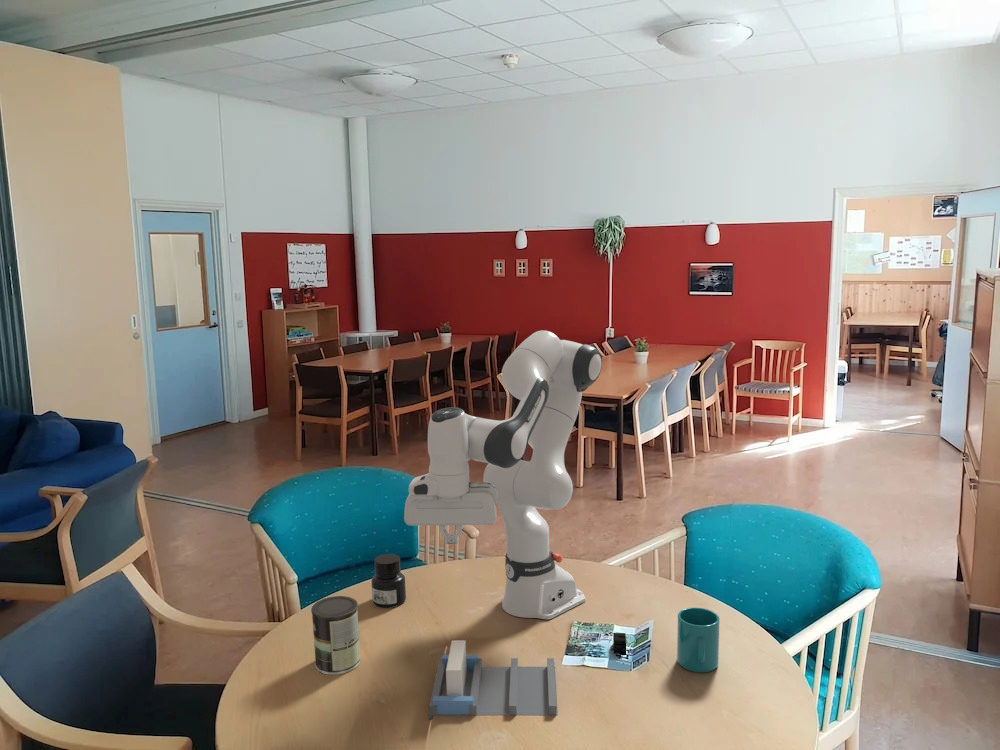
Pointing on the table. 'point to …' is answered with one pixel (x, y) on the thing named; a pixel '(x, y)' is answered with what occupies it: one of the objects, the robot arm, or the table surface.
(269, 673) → the table surface
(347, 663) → the coffee can
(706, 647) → the cup
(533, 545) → the robot arm
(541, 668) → the board
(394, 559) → the ink bottle
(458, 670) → the plug block
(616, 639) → the black notched block
